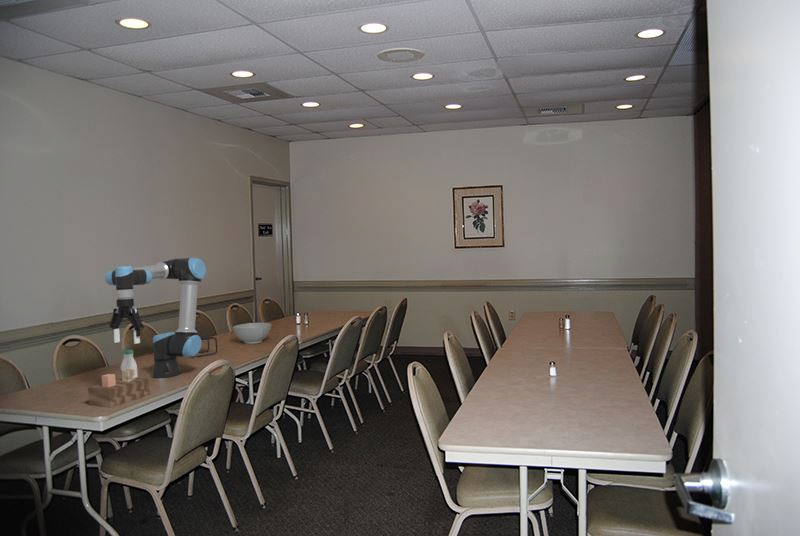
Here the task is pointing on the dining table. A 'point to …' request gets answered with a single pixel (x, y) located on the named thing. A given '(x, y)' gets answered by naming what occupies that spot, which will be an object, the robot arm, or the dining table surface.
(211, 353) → the dark open wire frame
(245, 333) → the decorative bowl
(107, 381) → the clay peg
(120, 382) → the walnut block
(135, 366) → the milk bottle
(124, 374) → the birch peg
